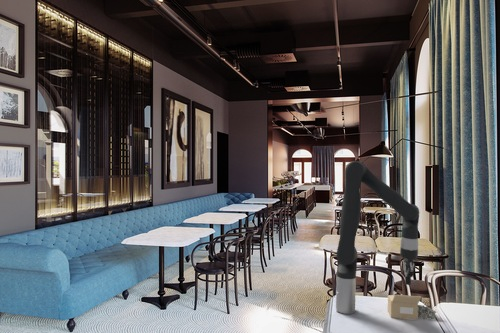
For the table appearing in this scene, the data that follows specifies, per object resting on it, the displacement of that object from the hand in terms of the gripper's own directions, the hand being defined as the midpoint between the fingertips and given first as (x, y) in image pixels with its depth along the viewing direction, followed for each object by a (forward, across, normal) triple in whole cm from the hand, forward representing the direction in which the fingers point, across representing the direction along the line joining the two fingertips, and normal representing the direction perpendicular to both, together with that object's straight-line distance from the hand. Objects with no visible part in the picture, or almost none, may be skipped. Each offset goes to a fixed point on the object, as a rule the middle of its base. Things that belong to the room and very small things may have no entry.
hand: (407, 284), depth 172 cm
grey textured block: (+19, -12, +12) cm, 25 cm away
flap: (+8, -2, 0) cm, 8 cm away
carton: (+18, -9, 0) cm, 20 cm away
